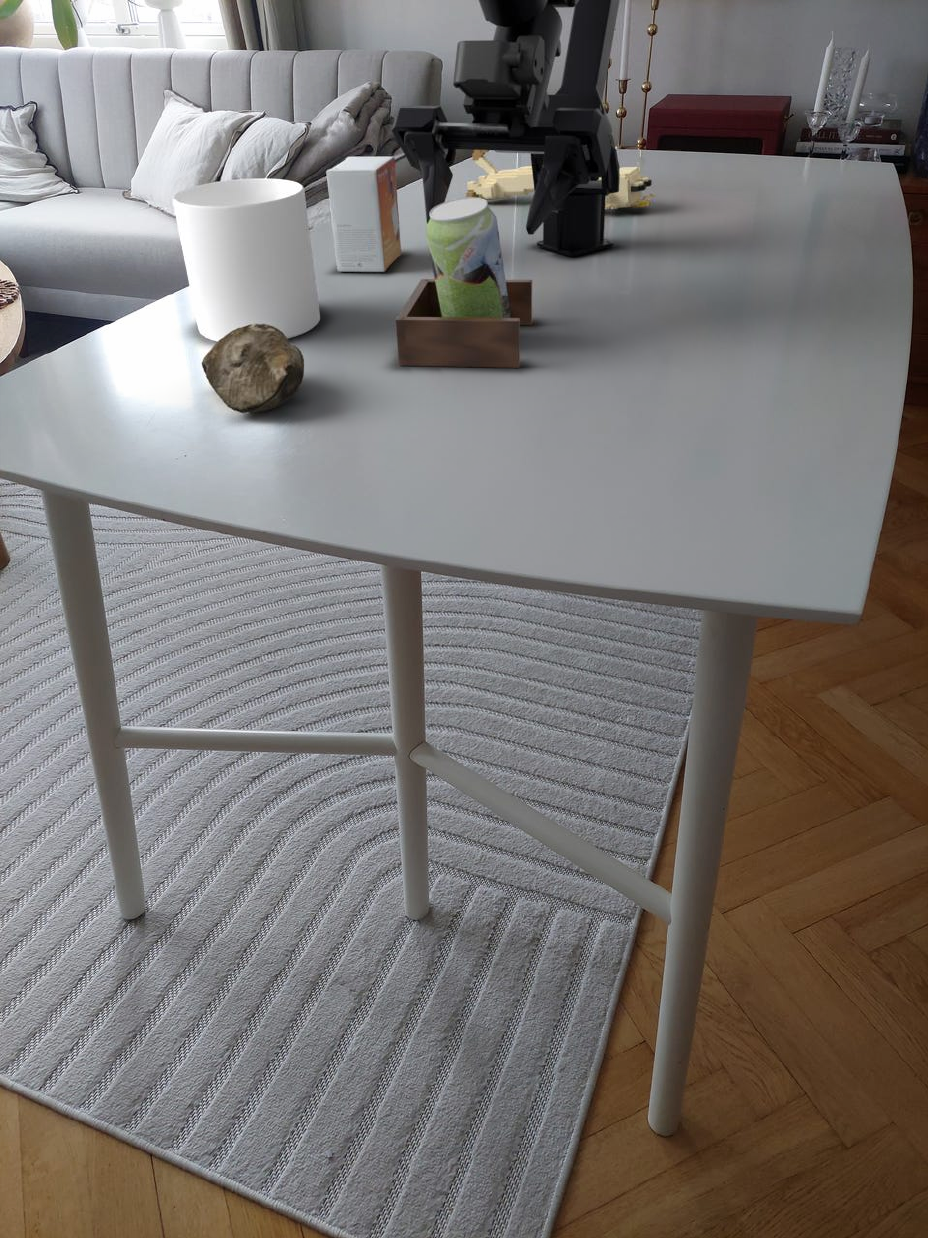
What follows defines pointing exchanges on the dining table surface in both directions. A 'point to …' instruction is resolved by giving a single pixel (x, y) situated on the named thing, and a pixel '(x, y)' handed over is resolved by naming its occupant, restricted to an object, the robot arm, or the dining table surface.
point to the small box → (364, 213)
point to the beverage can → (467, 259)
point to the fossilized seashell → (254, 368)
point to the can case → (461, 331)
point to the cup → (248, 255)
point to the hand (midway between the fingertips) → (478, 228)
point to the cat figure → (522, 184)
